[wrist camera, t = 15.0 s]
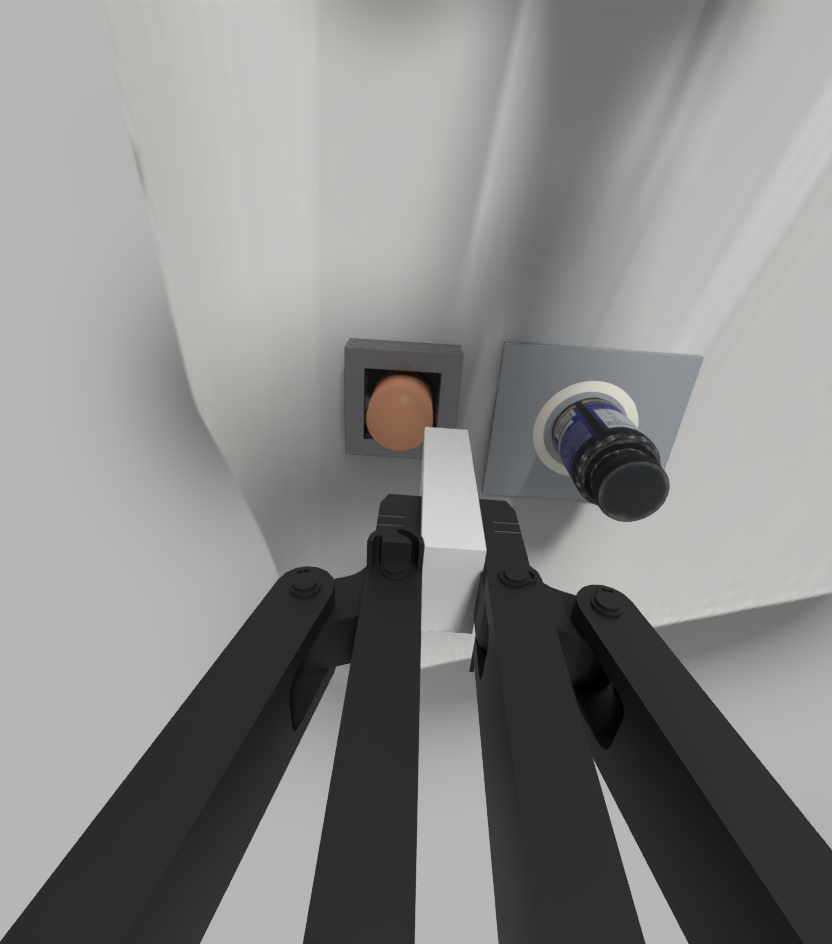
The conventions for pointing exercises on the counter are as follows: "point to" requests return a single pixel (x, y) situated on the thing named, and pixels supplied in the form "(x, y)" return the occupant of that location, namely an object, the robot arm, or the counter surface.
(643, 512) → the pill bottle
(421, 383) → the button
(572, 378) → the board
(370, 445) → the button housing
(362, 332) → the counter surface
